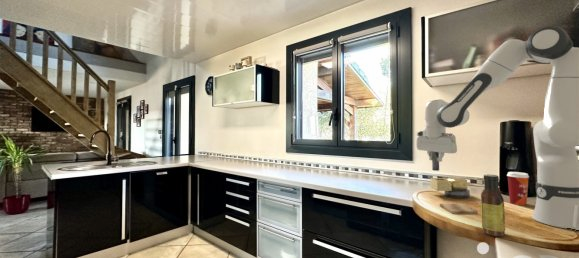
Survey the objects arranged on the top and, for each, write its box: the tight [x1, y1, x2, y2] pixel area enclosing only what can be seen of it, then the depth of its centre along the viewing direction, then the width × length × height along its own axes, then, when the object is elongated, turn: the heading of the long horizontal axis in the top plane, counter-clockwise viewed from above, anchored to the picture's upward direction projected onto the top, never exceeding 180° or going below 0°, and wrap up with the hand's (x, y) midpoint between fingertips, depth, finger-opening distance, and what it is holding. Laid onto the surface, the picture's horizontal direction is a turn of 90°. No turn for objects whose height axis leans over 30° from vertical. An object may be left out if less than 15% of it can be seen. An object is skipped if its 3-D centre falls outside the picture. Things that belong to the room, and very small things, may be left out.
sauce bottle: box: [480, 173, 506, 237], centre depth 86 cm, size 7×6×20 cm
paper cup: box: [506, 171, 530, 206], centre depth 116 cm, size 8×8×14 cm
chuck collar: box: [429, 177, 468, 192], centre depth 131 cm, size 16×9×5 cm, turn 86°
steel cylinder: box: [431, 152, 440, 172], centre depth 125 cm, size 3×3×10 cm
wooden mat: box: [439, 203, 478, 215], centre depth 110 cm, size 10×10×1 cm
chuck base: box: [443, 188, 471, 199], centre depth 131 cm, size 11×11×3 cm
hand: (435, 160), depth 125 cm, fingers closed on steel cylinder, 3 cm apart
